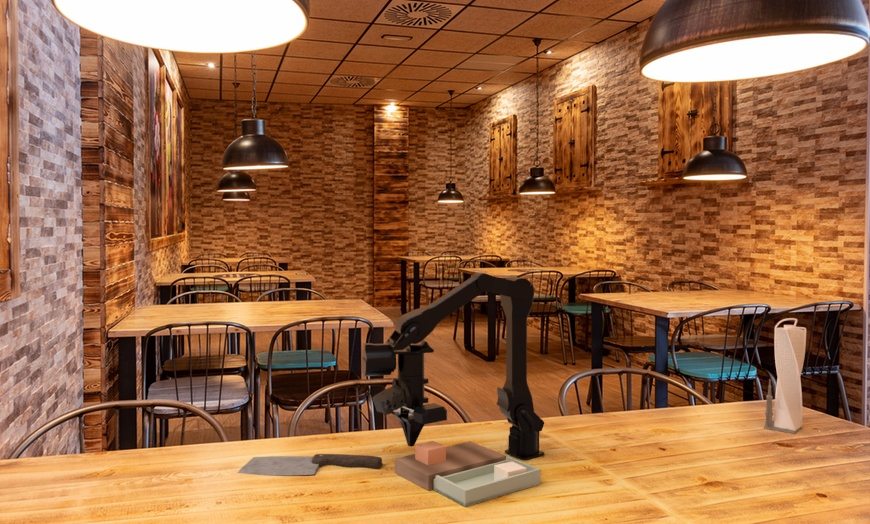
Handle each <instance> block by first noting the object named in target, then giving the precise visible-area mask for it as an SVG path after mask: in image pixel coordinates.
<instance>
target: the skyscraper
mask: <svg viewBox="0 0 870 524" xmlns="http://www.w3.org/2000/svg"><path fill="white" fill-rule="evenodd" d="M785 321H794V324H783V327H778V326H779V325H780V324H781V323H783V322H785ZM798 321H799V320H798V319H797V318H795V317H789V318H783V319H781V320H779V321H778V322H777V323H776V324H775V326H774V342H773V343H774V360H775V361H774V363H775V369H776V376H777V379H776V386H775V396H774V397H773V395H772V385H771V383H772V382H771V381H772V380H771V378H769V379H768V385H767V395H766V397H765V398H766V399H765V400H766V407H765V412H764V413H765V421H764V426H763V429H765V428H767V429H766V430H771V429H772V430H771V431H776V430H777V431H776V432H781V431H783V432H782V433H787V432H789V433H788V434H792V433H794V434H796V433H797V432H798V430H799V429H800V430H802V429H803V392H802V382H801V381H802V380H801V375H802V372H803V367H804V361H805V357H806V356H805V355H806V348H807V347H806V344H807V343H806V342H807V328H806V327H804V326H803V327H802V326H797V324H798ZM773 398H774V409H773ZM773 416H774V417H773ZM800 430H799V431H800ZM795 432H796V433H795Z"/></svg>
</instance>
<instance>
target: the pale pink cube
mask: <svg viewBox="0 0 870 524" xmlns="http://www.w3.org/2000/svg"><path fill="white" fill-rule="evenodd" d="M524 472H526V468H525V467H523V466H521V465H519V464H517V463H515V462H513V461H512V462H507V463H502V464H498V465H494V480H495V481H496V480H499V479H503V478H506V477H510V476H513V475H517V474H521V473H524Z"/></svg>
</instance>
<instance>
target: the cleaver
mask: <svg viewBox="0 0 870 524" xmlns="http://www.w3.org/2000/svg"><path fill="white" fill-rule="evenodd" d="M382 465H383V459H382V457H380V456H374V455H365V454H363V455H362V454H361V455H360V454H345V453H343V454H342V453H341V454H339V453H316V454H314V455H309V456H307V455H303V456H301V455H300V456H299V455H298V456H297V455H296V456H292V455H291V456H290V455H285V456H284V455H283V456H282V455H279V456H278V455H277V456H274V455H273V456H254V457H252V458H251V459H250V460H249V461H248V462H247V463H245V465H243V466H242V467H241V468H240V469H239V470H238V472H237V474H243V475H252V476H253V475H255V476H256V475H257V476H264V477H265V476H266V477H267V476H268V477H271V476H272V477H274V476H275V477H278V476H280V477H281V476H287V477H288V476H310V475H315V474H316V473H318V470H319V468H322V467H324V466H336V467H341V468H342V467H345V468H366V469H374V470H378V469H380V468H381V466H382Z"/></svg>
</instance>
